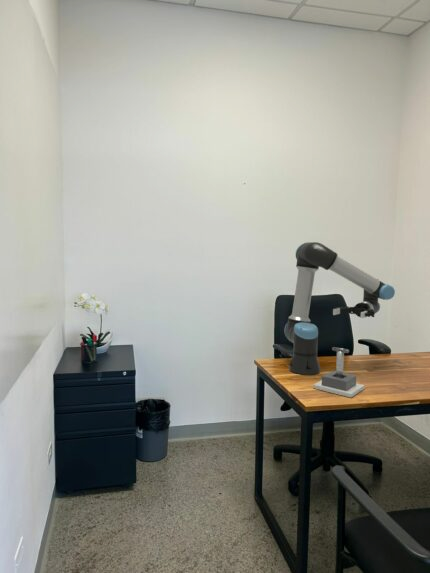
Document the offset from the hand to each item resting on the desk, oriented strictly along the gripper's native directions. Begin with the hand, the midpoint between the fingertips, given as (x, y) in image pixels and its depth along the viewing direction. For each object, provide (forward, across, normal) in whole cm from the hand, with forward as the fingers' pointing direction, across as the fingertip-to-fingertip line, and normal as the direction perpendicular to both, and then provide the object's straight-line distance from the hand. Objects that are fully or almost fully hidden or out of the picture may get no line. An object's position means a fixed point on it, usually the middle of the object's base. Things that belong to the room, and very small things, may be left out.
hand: (347, 313), depth 193 cm
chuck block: (+21, -6, -30) cm, 37 cm away
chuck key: (+21, -6, -28) cm, 36 cm away
